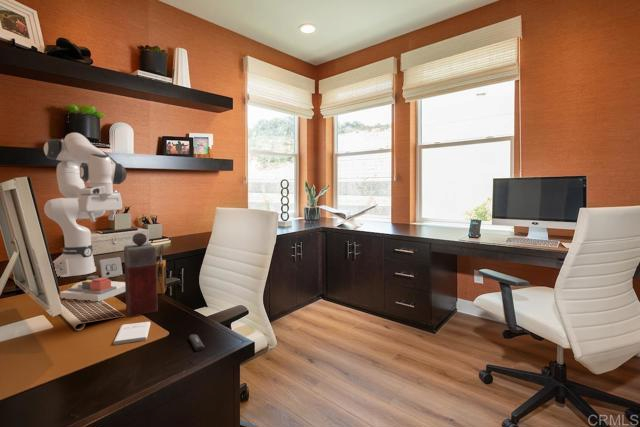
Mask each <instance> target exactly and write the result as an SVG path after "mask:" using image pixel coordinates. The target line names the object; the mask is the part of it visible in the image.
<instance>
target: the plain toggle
mask: <svg viewBox="0 0 640 427" xmlns="http://www.w3.org/2000/svg"><path fill="white" fill-rule="evenodd" d="M99 276H100V275H90V276H86V280H85V281H87V280H94V279H97V278H100V277H99Z"/></svg>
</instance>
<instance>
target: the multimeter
mask: <svg viewBox="0 0 640 427" xmlns="http://www.w3.org/2000/svg"><path fill="white" fill-rule="evenodd" d="M158 250H159V253H158V257H159V259H158V261H156V268H157V298H160V297H162V296H163V294H165V292H166V290H167V272H166V271H167V266H166V265H167V264H166V262H167V260H166V259H164V258H163V257H164V255H163V254H164V250H163V245H160V246H159V247H158Z"/></svg>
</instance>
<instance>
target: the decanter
mask: <svg viewBox="0 0 640 427" xmlns="http://www.w3.org/2000/svg"><path fill="white" fill-rule="evenodd" d="M147 238H148V237H147V236H146V235H145V234H144V233H143V232H136V233H135V234H133V236H132V242H133V243H134V244H130V245H129V244H126V245H125V246H124V247H123V252H124V253H123V255H124V256H123V257H124V258H123V259H124V282H125V290H126V292H125V309H126V312H127V315H128V317H134V316H140V315H145V314H149V313H155V312H158V311H159V310H158V308H159V307H158V297H157V296H158V294H157V268H156V263H157V247H155V246H154V245H153V244H151V243H146V242H147Z"/></svg>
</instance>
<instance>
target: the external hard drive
mask: <svg viewBox="0 0 640 427" xmlns="http://www.w3.org/2000/svg"><path fill="white" fill-rule="evenodd" d="M150 328H151V321H142V322H136V323H135V322H134V323H127V324H122V325H121V326H120V328H119V330H118V332H117V335H116V336H115V338H114V340H113V345H114V346H115V345H123V344H128V343H137V342H143V341H144V342H145V341H147V340H148V335H149V332H150Z"/></svg>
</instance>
